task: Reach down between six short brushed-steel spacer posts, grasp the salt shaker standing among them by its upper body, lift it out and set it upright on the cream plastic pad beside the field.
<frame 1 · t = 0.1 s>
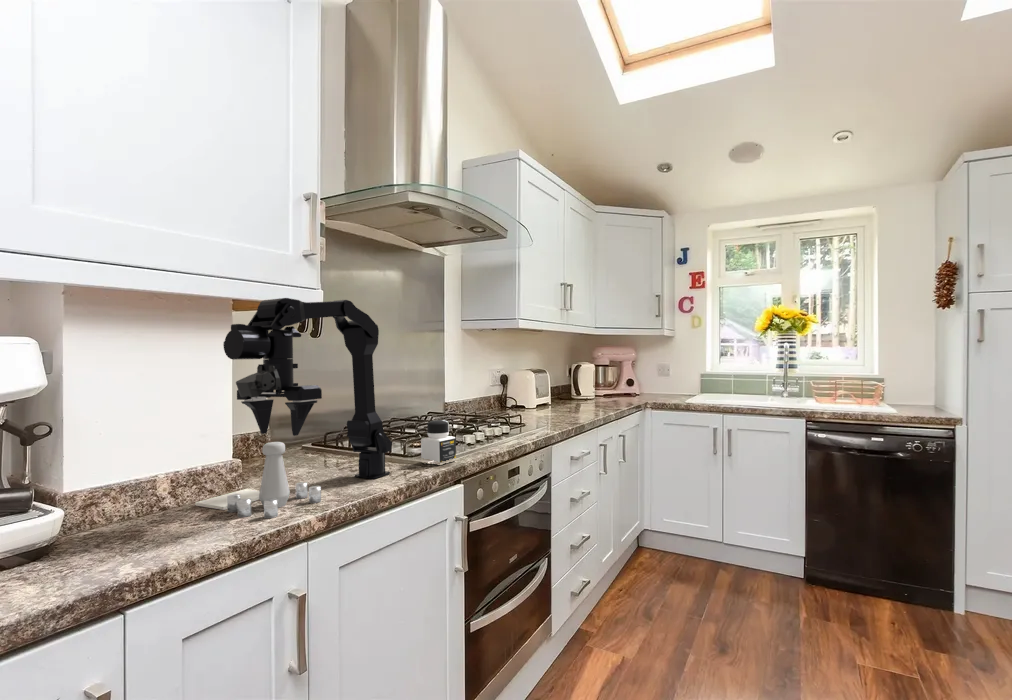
hand: (279, 434, 106), 15 cm above the worktop, fingers open, 9 cm apart
spacer field: (274, 505, 106), on the worktop
medicine bottle: (438, 463, 147), on the worktop
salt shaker: (274, 506, 106), on the worktop
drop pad: (235, 500, 111), on the worktop
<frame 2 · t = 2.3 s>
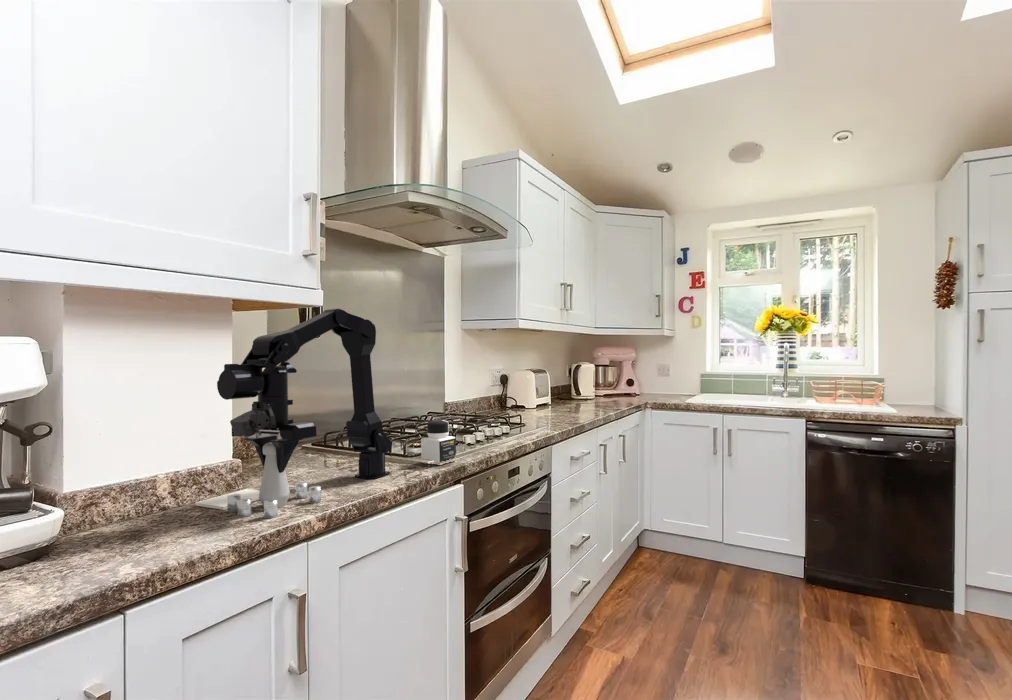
hand: (274, 471, 106), 7 cm above the worktop, fingers closed on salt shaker, 4 cm apart
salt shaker: (274, 506, 106), on the worktop, touching gripper
everything else where it was.
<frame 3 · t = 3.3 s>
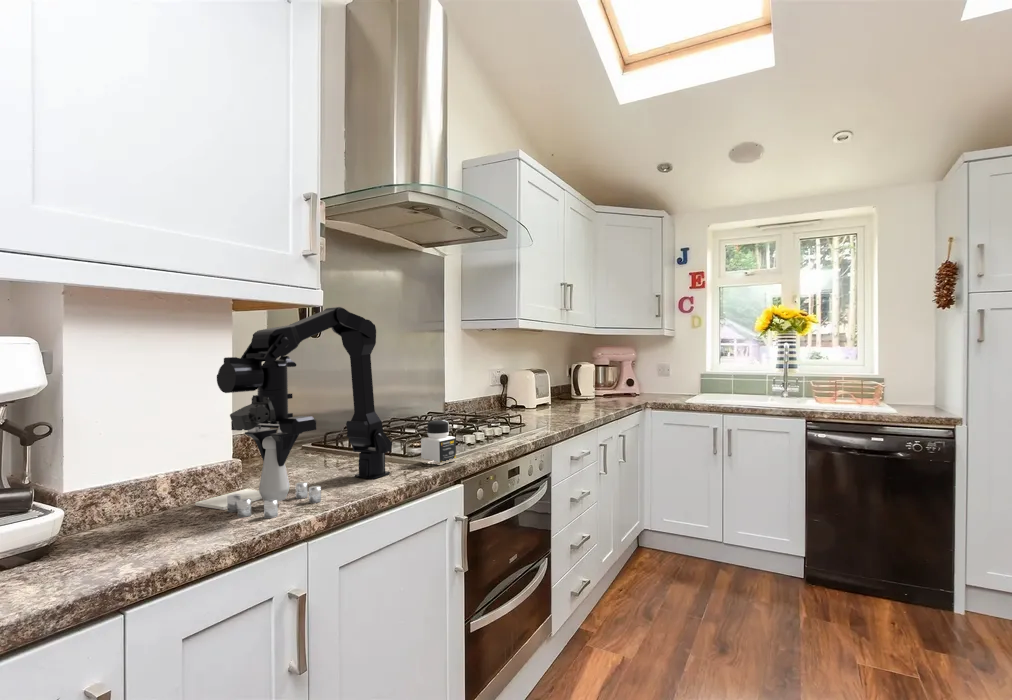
hand: (274, 465, 106), 8 cm above the worktop, fingers closed on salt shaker, 4 cm apart
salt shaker: (274, 500, 106), point 1 cm above the worktop, touching gripper
everything else where it was.
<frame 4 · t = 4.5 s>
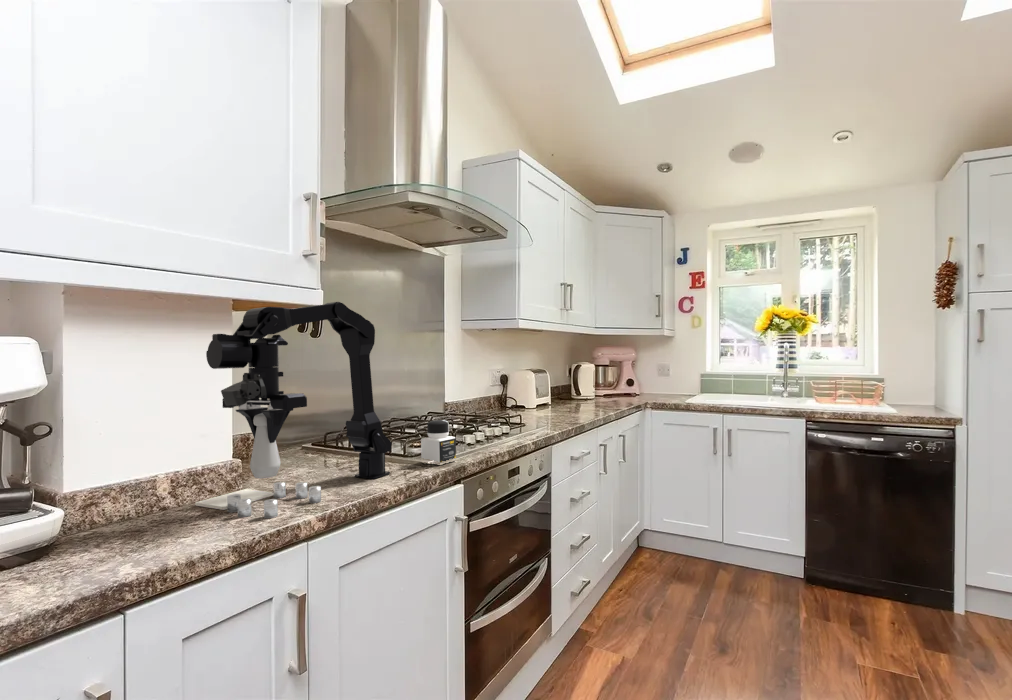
hand: (265, 442, 107), 13 cm above the worktop, fingers closed on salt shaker, 4 cm apart
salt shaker: (265, 477, 107), point 6 cm above the worktop, touching gripper
everything else where it was.
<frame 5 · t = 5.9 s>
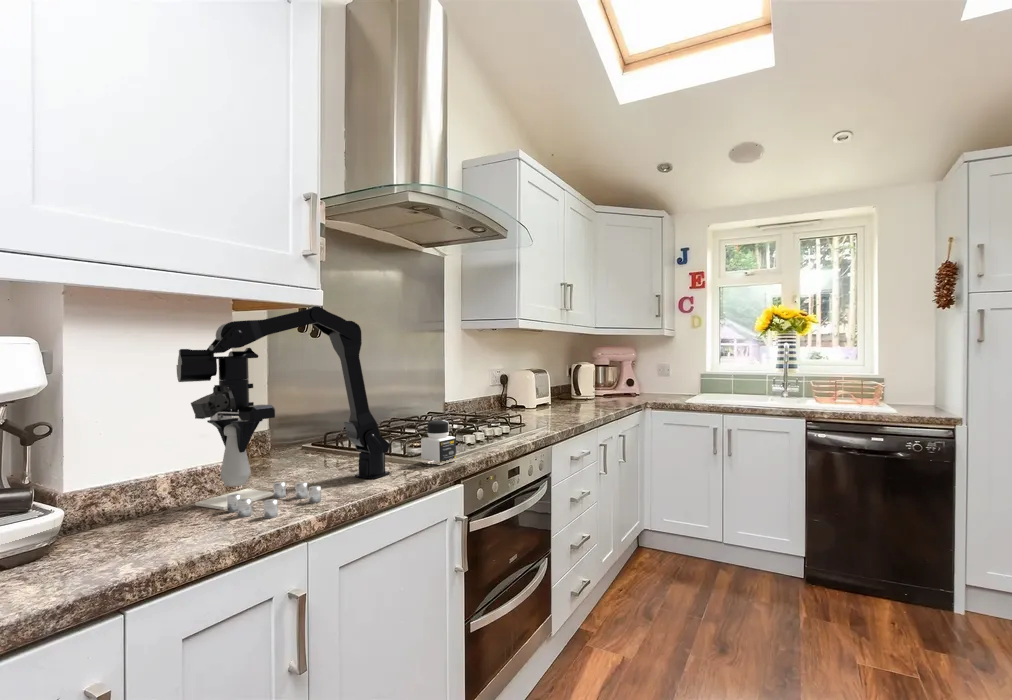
hand: (235, 451, 111), 10 cm above the worktop, fingers closed on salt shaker, 4 cm apart
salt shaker: (236, 485, 111), point 3 cm above the worktop, touching gripper
everything else where it was.
when the fingers open (9 cm above the worktop, at t = 6.9 s): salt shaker drops 1 cm, resting on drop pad.
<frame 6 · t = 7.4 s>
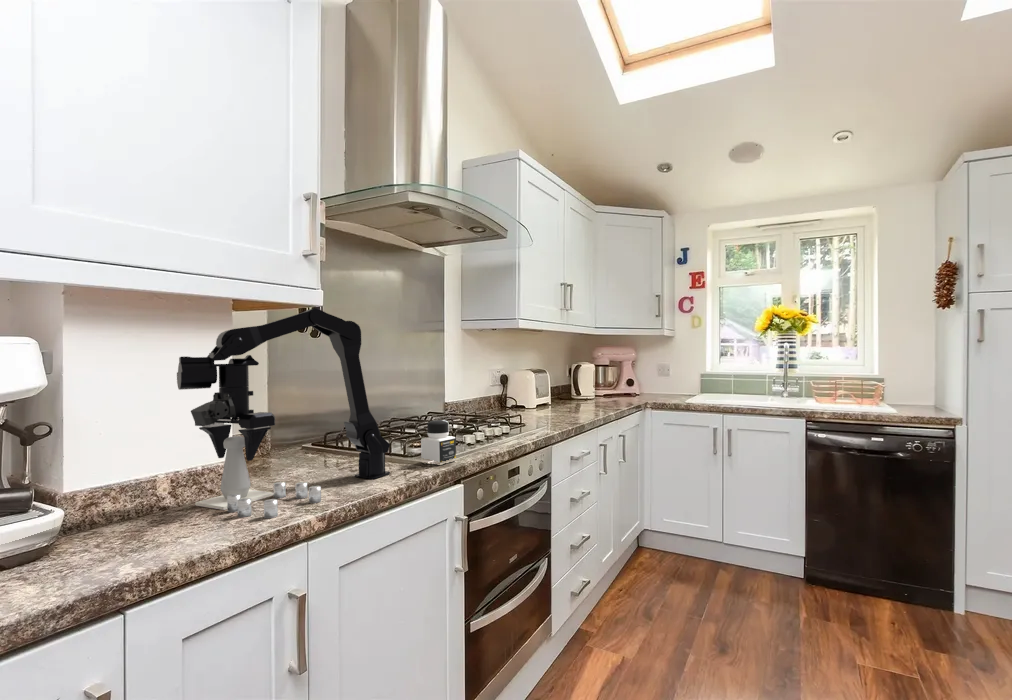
hand: (235, 459, 111), 9 cm above the worktop, fingers open, 9 cm apart
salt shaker: (236, 497, 111), resting on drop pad
everything else where it was.
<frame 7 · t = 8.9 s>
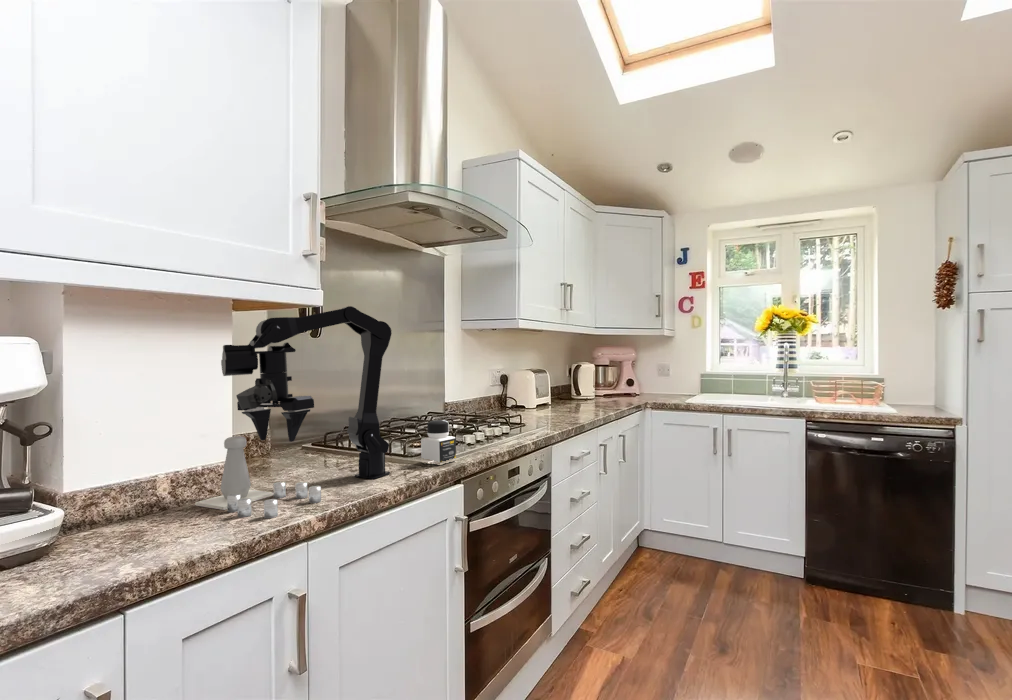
hand: (277, 440, 118), 12 cm above the worktop, fingers open, 9 cm apart
nothing on the worktop moved.
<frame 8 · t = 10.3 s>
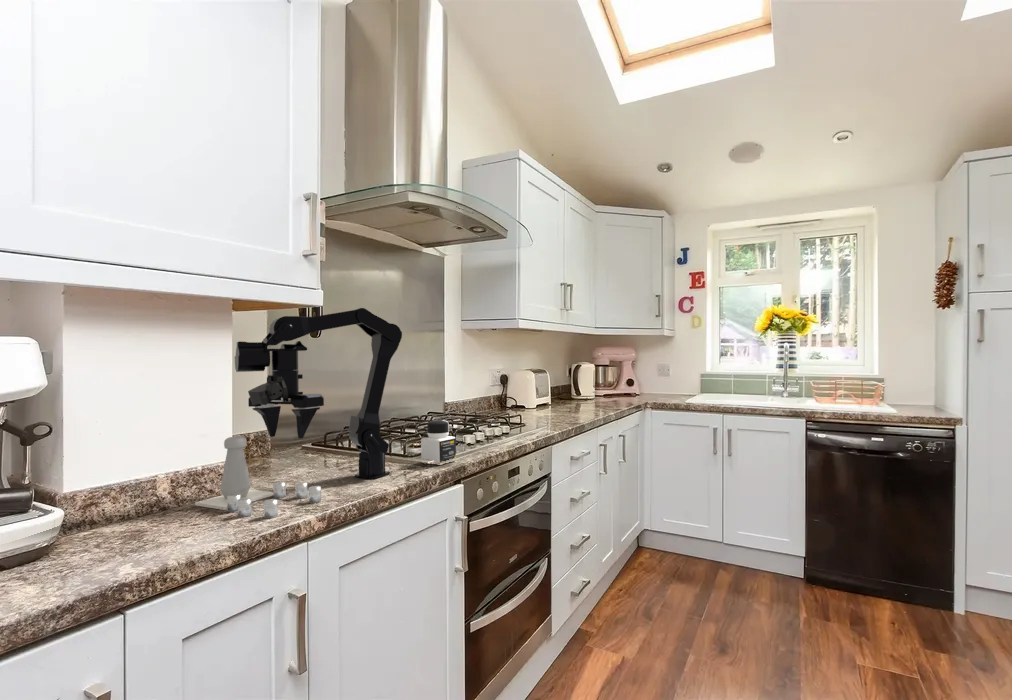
hand: (286, 437, 120), 12 cm above the worktop, fingers open, 9 cm apart
nothing on the worktop moved.
at the end: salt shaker inside the target area on the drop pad (0.1 cm from its centre), point 0.4 cm above the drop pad's base; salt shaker tilted 0°; the gripper is holding nothing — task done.
